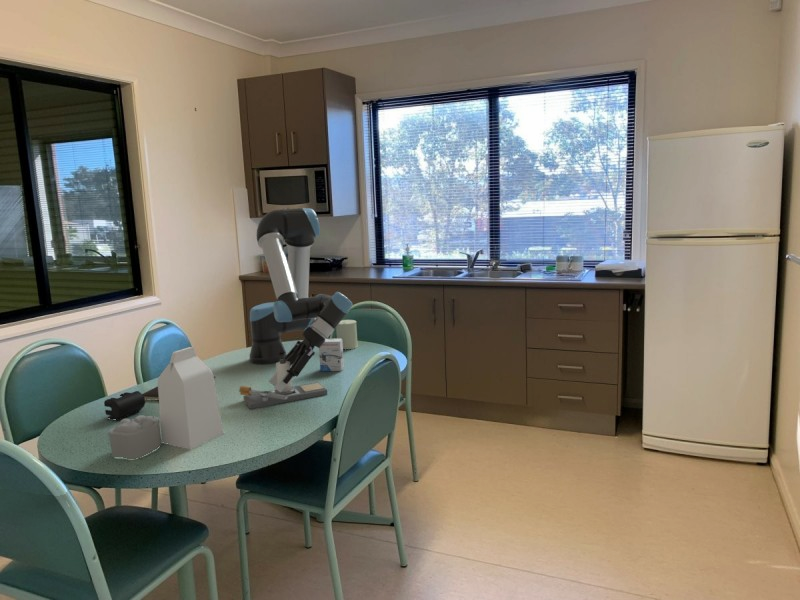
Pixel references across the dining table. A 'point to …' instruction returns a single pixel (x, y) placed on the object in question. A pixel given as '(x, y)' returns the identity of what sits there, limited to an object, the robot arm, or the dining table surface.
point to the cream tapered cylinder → (347, 333)
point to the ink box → (331, 355)
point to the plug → (281, 370)
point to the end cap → (124, 405)
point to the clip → (260, 393)
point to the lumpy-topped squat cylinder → (135, 437)
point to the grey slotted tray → (299, 393)
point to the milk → (188, 401)
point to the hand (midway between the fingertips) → (274, 386)
